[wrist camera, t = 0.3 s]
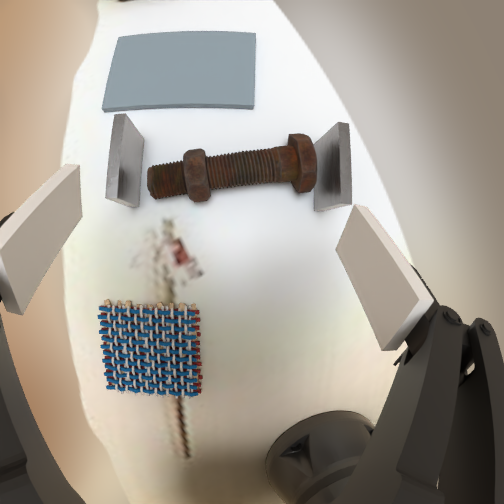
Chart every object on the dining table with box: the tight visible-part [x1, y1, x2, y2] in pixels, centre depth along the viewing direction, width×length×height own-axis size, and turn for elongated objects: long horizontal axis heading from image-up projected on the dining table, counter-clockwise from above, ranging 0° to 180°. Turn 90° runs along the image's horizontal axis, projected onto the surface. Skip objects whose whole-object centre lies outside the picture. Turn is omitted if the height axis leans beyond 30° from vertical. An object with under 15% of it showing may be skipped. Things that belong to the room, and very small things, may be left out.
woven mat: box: [98, 300, 203, 398], centre depth 29 cm, size 10×11×2 cm
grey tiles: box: [105, 114, 352, 211], centre depth 26 cm, size 7×19×7 cm, turn 89°
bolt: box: [147, 134, 318, 202], centre depth 27 cm, size 6×5×15 cm
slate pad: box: [102, 31, 256, 112], centre depth 27 cm, size 10×16×1 cm, turn 89°
